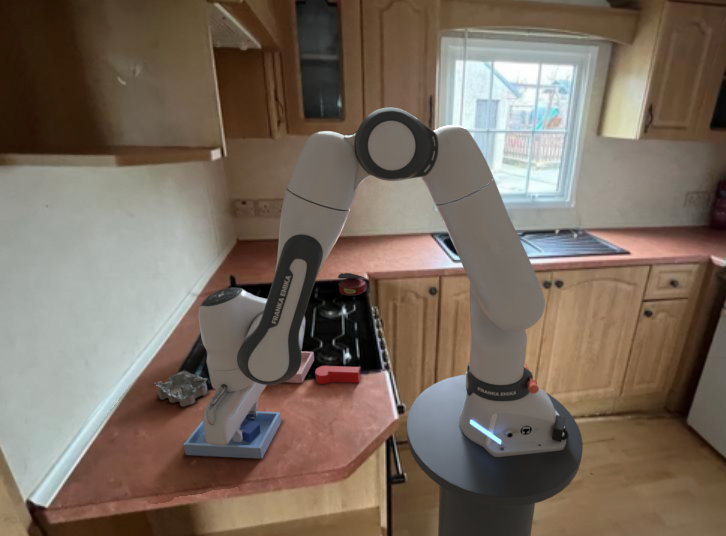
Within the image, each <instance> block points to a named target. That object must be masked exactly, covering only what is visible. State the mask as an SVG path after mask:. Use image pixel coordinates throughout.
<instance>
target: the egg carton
mask: <svg viewBox="0 0 726 536" xmlns="http://www.w3.org/2000/svg"><path fill="white" fill-rule="evenodd" d="M208 380H209V378H207V377H206V378H205V377H202V376H199V374H198V375H197V374H194V373H190V372H189V371H187V370H182V371H179V372H177V373H176V374H173V375H172V376H171V377H167V379H166V381H165V382H164V383H163V382H162V380H161V381H158V382H153V383H152V385H155V386H156V387H158V390H157V395H158V398H159V399H160V400H166V399H168V400H169V402H170V403H172V404H175V403H177V402H179V405H180V407H183V408H184V407H187V406H190V405H193V404H194V403H196V399H197V398H198V397H201V396H205V395H207V394H208V385H207V381H208Z"/></svg>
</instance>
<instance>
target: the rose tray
mask: <svg viewBox="0 0 726 536" xmlns="http://www.w3.org/2000/svg"><path fill="white" fill-rule="evenodd" d="M301 353H302V356H301V366H300V368H299V370H298V372H297V373H296V375H295V376H293V377H292V378H291V379H289V380H288V381H285V382H284V383H293V384H294V383H295V384H302V383H303V382H304V380H305V379H306V376H307V375H308V373H309V371H310V369H311V367H312V366H313V363H314V362H315V353H314V351H301Z"/></svg>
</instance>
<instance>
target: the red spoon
mask: <svg viewBox="0 0 726 536" xmlns="http://www.w3.org/2000/svg"><path fill="white" fill-rule="evenodd" d="M314 375H315V382H317V383H318V384H321V385H326V384H329V383H351V384H352V383H353V384H356V383H357V384H359V383H360V380H361V366H341V365H338V366H337V365H321V366H319V367H317V368H316V369H315V370H314Z"/></svg>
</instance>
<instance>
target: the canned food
mask: <svg viewBox="0 0 726 536" xmlns="http://www.w3.org/2000/svg"><path fill="white" fill-rule="evenodd" d="M337 279H342V280H340V281H339V282H338V289H339V291H338V292H339V293H340V294H342V295H344V296H357V295H361V294H363V293H364V292H366V290H367V288H366V281H365V280H364V279H365V277H364V276H362V275H359V274H355V273H350V272H343V273H342V272H341V273H340V274H338V275H337Z"/></svg>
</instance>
